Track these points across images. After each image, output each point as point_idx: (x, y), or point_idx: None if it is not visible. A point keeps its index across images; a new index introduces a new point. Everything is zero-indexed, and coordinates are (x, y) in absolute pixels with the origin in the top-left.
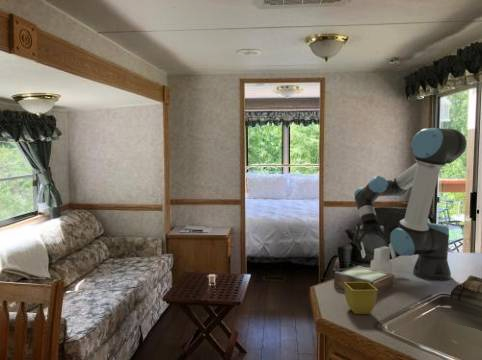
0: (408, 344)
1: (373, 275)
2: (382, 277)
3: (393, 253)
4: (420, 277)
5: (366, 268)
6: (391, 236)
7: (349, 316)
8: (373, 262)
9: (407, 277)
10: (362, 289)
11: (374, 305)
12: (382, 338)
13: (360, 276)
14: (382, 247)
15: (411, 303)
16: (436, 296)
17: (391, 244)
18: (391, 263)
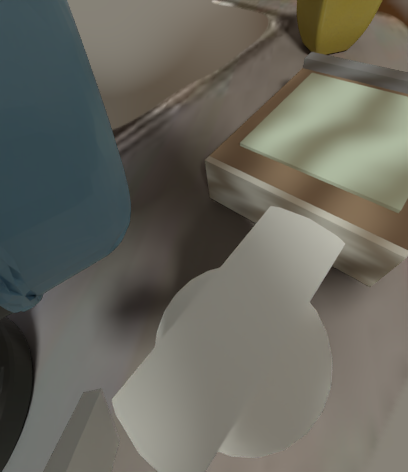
0: (247, 3)
1: (303, 120)
2: (265, 119)
3: (94, 417)
4: (28, 347)
5: (345, 215)
6: (87, 60)
7: None
8: (308, 310)
9: (96, 344)
10: (335, 7)
11: (297, 15)
12: (282, 4)
13: (358, 99)
14: (229, 377)
15: (195, 101)
16: None
17: (130, 207)
18: (170, 311)
